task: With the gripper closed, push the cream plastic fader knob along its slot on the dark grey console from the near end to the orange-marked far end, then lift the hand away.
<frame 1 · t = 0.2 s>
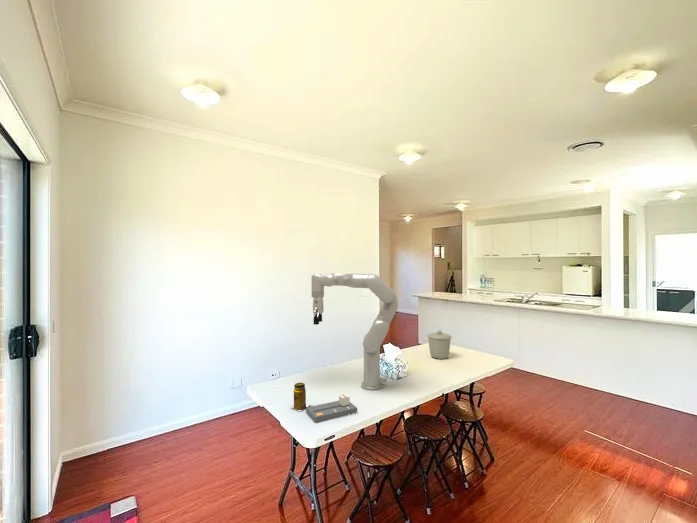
hand: (317, 322, 203), 37 cm above the table, tool pointing down, fingers open, 9 cm apart
fader knob: (344, 400, 167), point 5 cm above the table, slide at -7.0 cm
condiment: (301, 407, 171), on the table
canister: (439, 357, 260), on the table
fader console: (331, 412, 164), on the table
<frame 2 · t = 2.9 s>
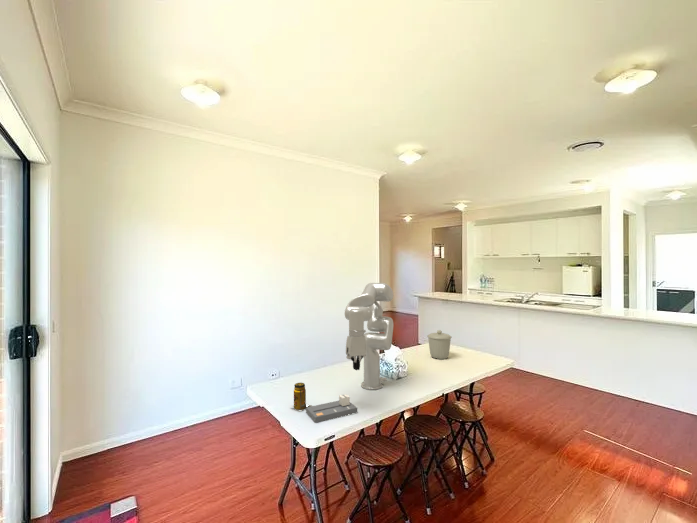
hand: (356, 369, 171), 19 cm above the table, tool pointing down, fingers closed
nothing on the table moved.
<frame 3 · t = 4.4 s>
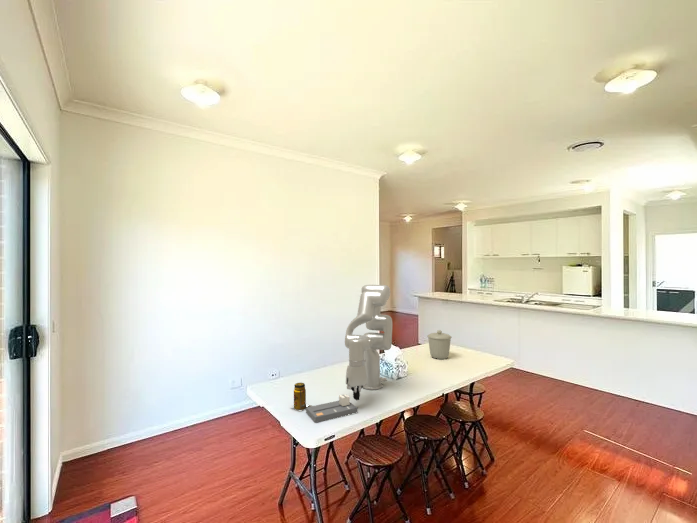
hand: (356, 399, 170), 4 cm above the table, tool pointing down, fingers closed
nothing on the table moved.
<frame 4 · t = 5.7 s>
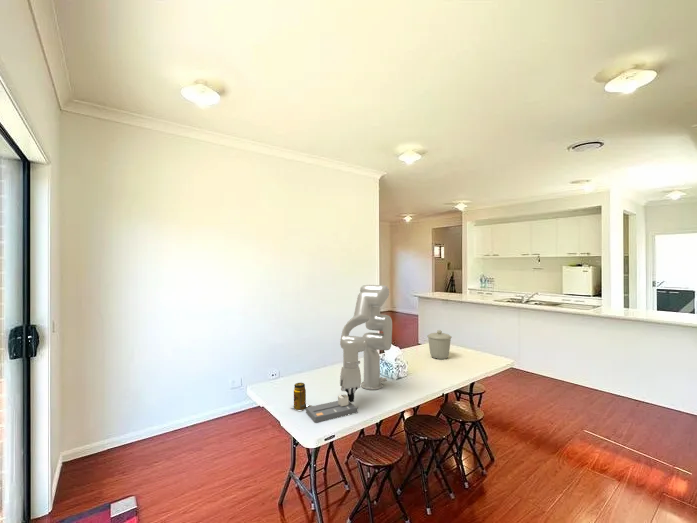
hand: (350, 401, 169), 4 cm above the table, tool pointing down, fingers closed
fader knob: (343, 400, 167), point 5 cm above the table, slide at -6.4 cm, touching gripper
everything else where it was.
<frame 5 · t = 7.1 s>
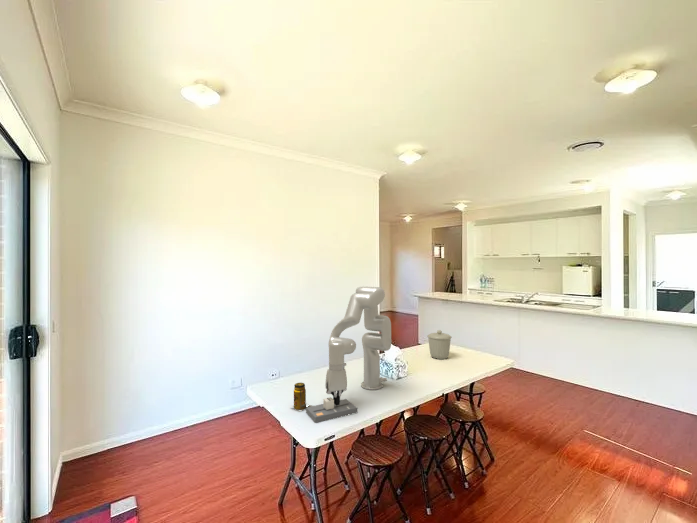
hand: (336, 404, 165), 4 cm above the table, tool pointing down, fingers closed
fader knob: (328, 403, 163), point 5 cm above the table, slide at 1.6 cm, touching gripper
everything else where it was.
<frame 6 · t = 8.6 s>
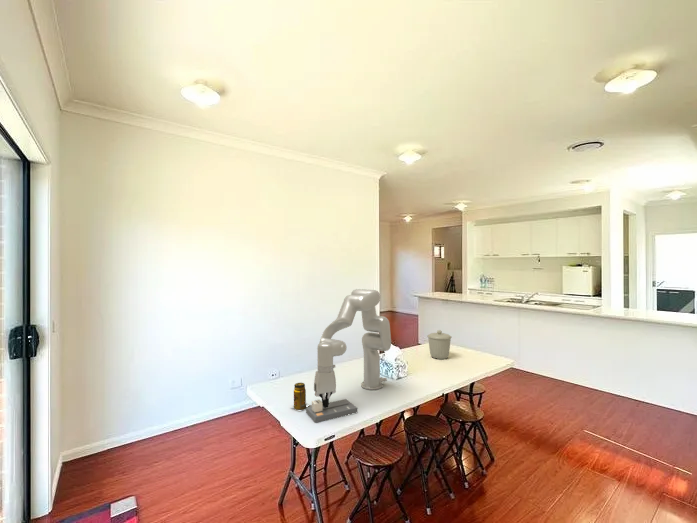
hand: (325, 406, 163), 4 cm above the table, tool pointing down, fingers closed
fader knob: (317, 405, 161), point 5 cm above the table, slide at 7.6 cm, touching gripper
everything else where it was.
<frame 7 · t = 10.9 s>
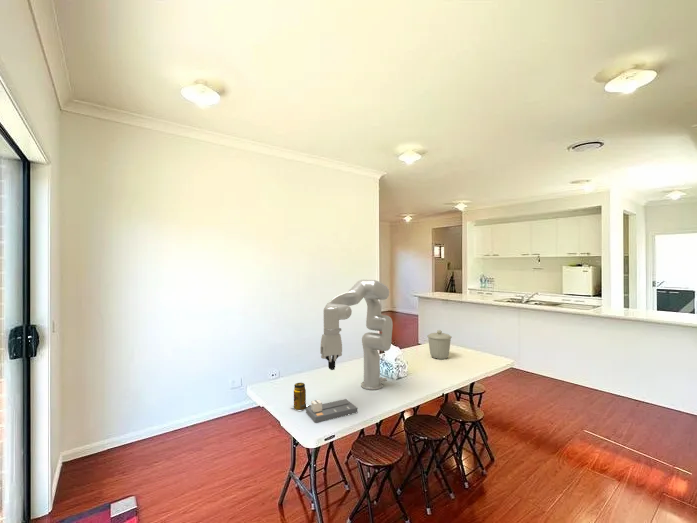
hand: (331, 369, 165), 21 cm above the table, tool pointing down, fingers closed
fader knob: (316, 406, 161), point 5 cm above the table, slide at 7.8 cm
everything else where it was.
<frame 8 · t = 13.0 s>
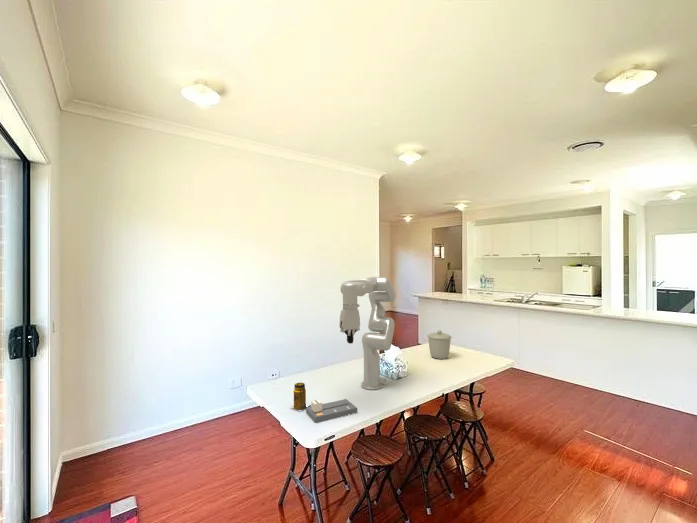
hand: (350, 342, 173), 32 cm above the table, tool pointing down, fingers closed
nothing on the table moved.
at the end: fader knob slide at 7.8 cm; condiment moved 0.3 cm from its start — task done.
